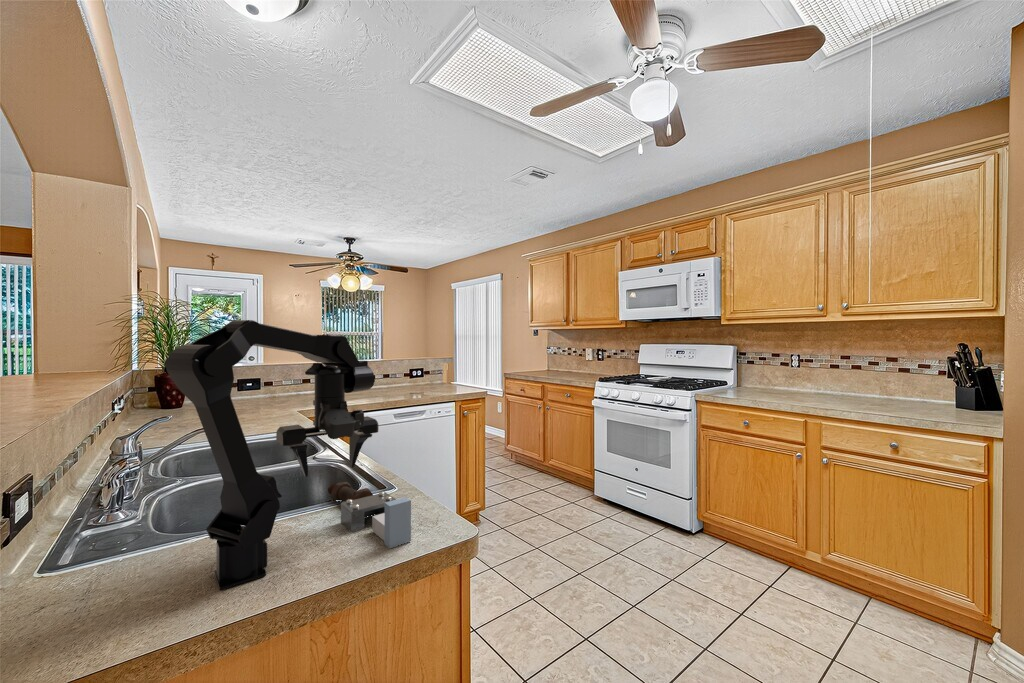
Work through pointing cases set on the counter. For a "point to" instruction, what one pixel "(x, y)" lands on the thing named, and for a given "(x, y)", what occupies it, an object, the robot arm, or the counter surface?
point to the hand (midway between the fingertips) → (329, 471)
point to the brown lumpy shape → (347, 492)
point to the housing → (363, 510)
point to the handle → (394, 523)
